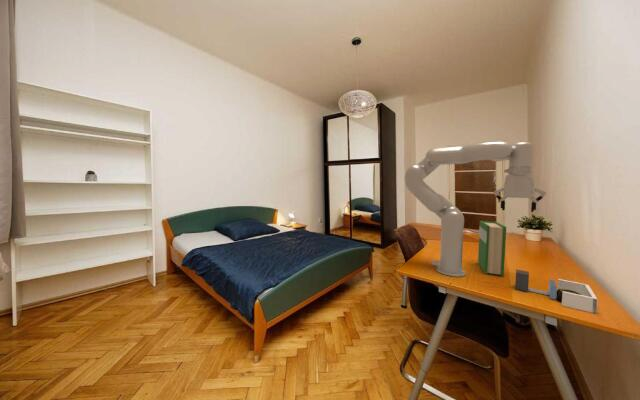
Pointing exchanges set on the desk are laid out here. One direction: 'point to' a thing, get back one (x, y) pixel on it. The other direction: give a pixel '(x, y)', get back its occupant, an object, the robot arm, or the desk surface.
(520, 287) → the block dumbbell
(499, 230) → the hardback book
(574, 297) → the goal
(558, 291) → the tape measure
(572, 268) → the desk surface
